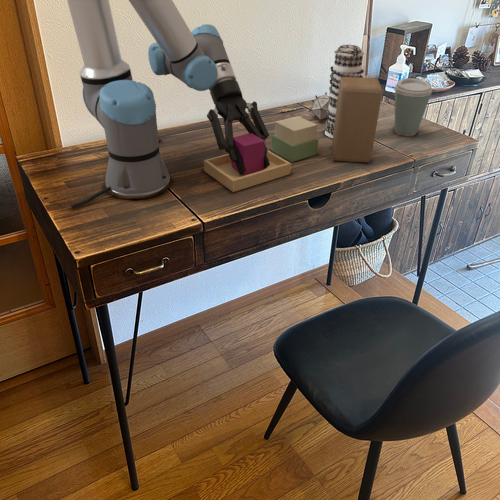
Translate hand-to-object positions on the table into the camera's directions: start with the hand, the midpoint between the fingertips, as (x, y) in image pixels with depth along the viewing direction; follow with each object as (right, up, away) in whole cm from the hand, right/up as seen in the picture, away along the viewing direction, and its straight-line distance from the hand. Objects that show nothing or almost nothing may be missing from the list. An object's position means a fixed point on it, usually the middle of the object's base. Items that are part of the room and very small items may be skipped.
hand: (254, 169), depth 121 cm
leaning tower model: (+26, +15, +26) cm, 39 cm away
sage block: (+11, +7, +14) cm, 19 cm away
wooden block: (+27, +6, +14) cm, 30 cm away
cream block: (+11, +11, +12) cm, 19 cm away
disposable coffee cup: (+46, +16, +28) cm, 56 cm away
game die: (+22, +22, +36) cm, 47 cm away
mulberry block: (-2, +1, +3) cm, 4 cm away
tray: (-2, 0, +4) cm, 4 cm away
